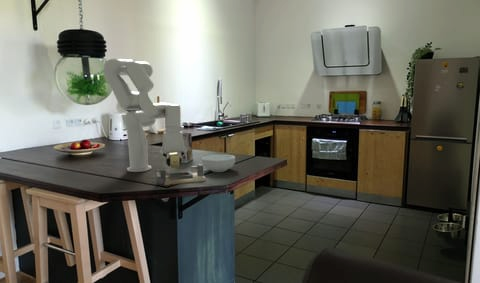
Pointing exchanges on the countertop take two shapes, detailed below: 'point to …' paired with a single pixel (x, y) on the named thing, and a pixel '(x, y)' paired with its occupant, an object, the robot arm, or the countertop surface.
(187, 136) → the coffee box
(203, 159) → the cereal bowl
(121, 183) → the countertop surface
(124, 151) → the countertop surface
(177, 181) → the shaft bench
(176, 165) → the coupler
